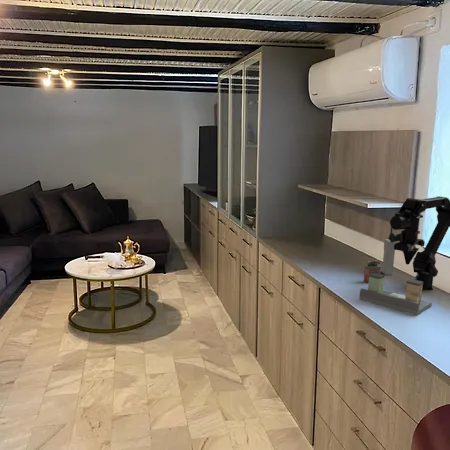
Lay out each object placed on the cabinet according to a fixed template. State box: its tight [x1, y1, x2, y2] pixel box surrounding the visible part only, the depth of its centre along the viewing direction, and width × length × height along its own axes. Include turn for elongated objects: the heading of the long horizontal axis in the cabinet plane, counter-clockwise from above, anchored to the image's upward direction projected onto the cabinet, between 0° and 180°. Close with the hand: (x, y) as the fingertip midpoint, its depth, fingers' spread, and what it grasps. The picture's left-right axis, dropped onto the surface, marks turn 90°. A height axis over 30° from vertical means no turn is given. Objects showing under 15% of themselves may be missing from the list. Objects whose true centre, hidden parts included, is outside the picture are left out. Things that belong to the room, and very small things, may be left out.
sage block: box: [367, 273, 385, 293], centre depth 186 cm, size 4×5×9 cm
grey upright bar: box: [380, 226, 397, 276], centre depth 226 cm, size 4×5×25 cm
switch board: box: [358, 288, 433, 316], centre depth 185 cm, size 15×23×4 cm, turn 47°
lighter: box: [362, 259, 382, 284], centre depth 212 cm, size 8×3×10 cm, turn 105°
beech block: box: [404, 278, 423, 303], centre depth 179 cm, size 4×5×9 cm
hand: (407, 264), depth 199 cm, fingers closed
